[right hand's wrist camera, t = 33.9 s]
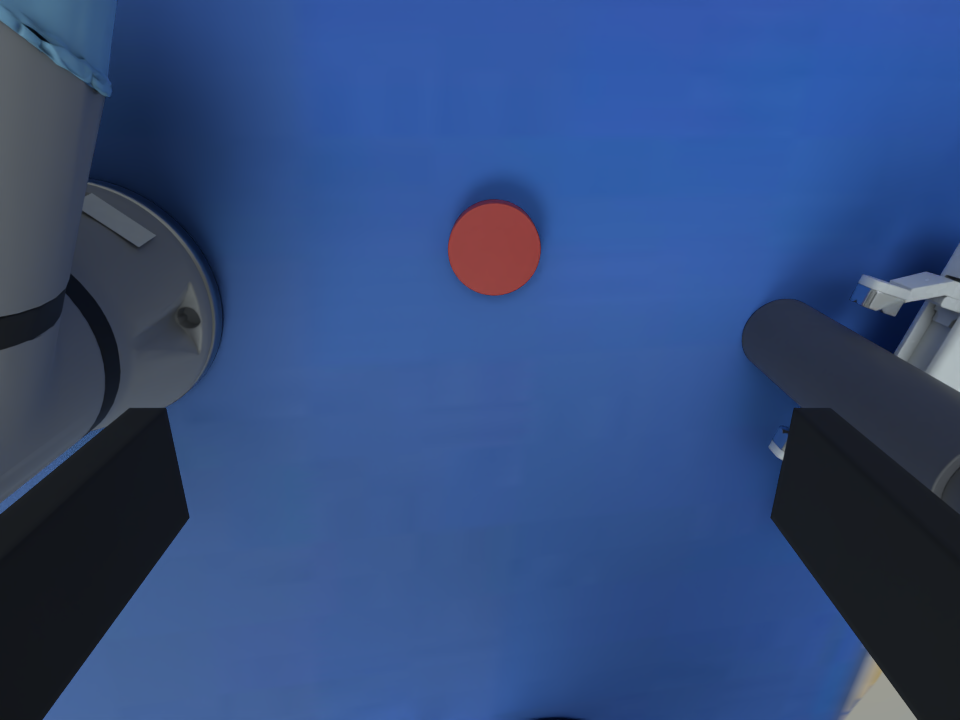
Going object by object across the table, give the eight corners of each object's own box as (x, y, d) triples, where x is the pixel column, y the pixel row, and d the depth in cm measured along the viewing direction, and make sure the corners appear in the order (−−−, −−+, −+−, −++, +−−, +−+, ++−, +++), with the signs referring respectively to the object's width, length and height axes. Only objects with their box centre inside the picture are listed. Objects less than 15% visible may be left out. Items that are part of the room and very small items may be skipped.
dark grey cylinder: (729, 323, 39) (942, 499, 21) (801, 284, 38) (1090, 433, 20) (759, 382, 41) (981, 594, 22) (828, 346, 40) (1121, 537, 21)
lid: (435, 265, 38) (433, 272, 36) (472, 183, 36) (472, 186, 34) (513, 301, 39) (514, 310, 37) (553, 223, 37) (557, 228, 35)
